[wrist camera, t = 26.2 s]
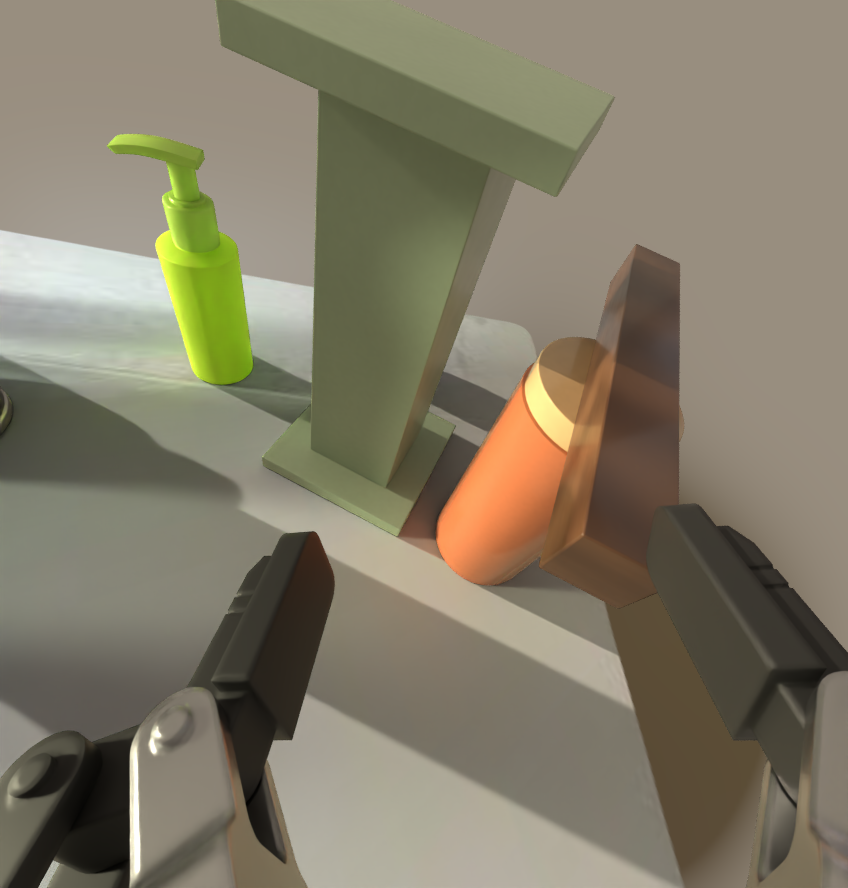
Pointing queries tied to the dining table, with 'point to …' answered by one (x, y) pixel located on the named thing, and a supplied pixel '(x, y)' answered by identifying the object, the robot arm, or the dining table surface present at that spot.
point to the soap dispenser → (198, 265)
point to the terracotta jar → (517, 471)
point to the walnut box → (622, 438)
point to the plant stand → (401, 219)
